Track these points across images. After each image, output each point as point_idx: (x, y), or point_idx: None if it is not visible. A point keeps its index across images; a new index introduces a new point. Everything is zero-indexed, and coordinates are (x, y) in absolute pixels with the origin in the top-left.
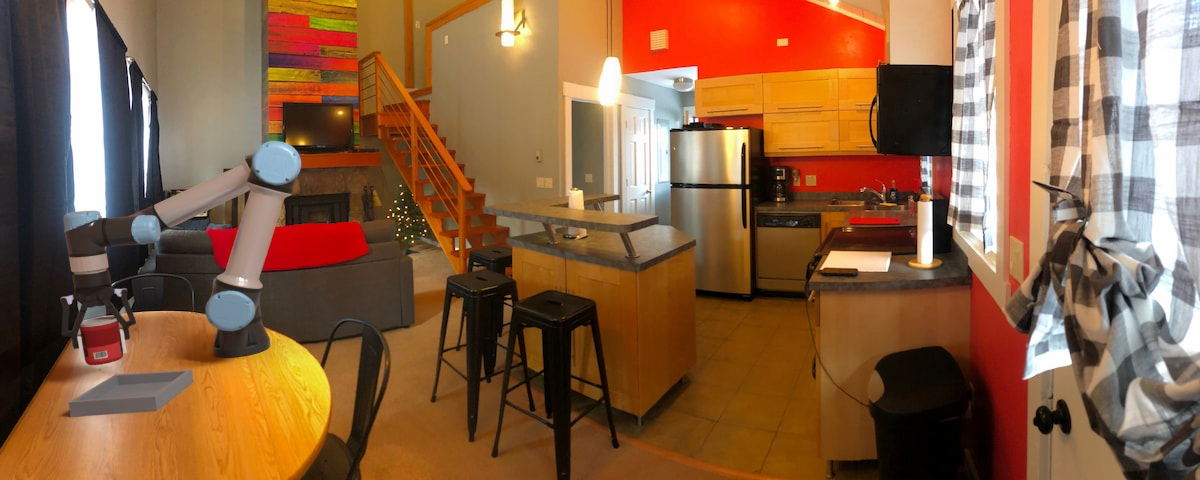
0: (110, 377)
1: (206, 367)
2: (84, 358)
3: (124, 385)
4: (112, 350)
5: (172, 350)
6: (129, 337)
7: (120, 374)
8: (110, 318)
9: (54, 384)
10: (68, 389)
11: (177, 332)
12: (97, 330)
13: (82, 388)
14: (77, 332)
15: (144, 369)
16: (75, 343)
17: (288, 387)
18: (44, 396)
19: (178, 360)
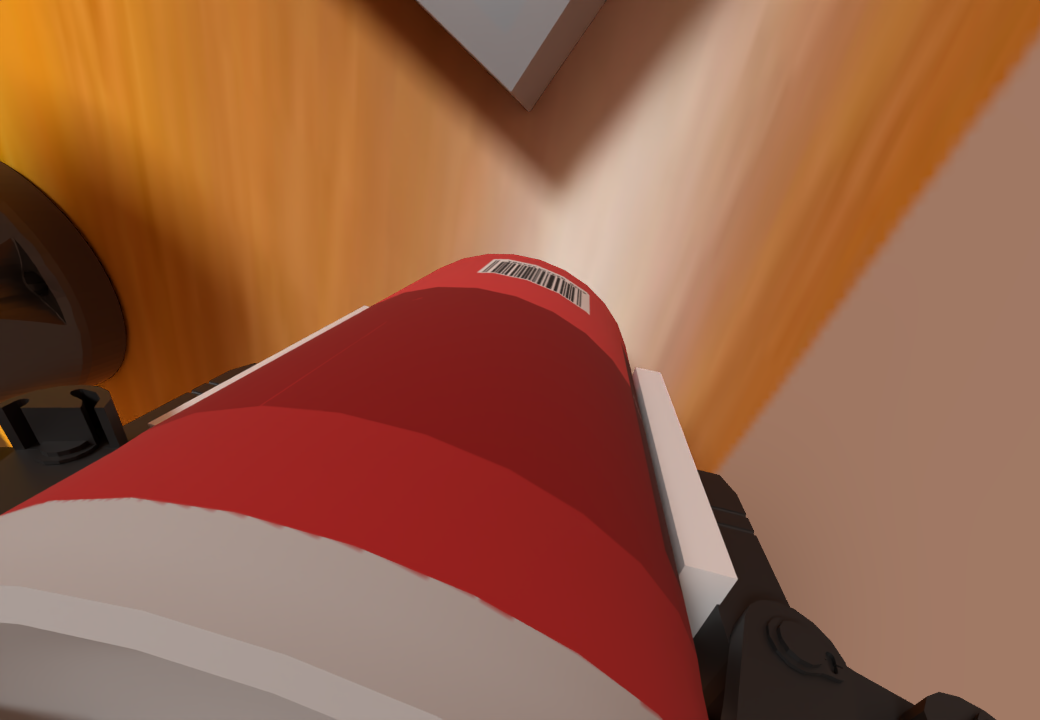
0: (556, 19)
1: (113, 99)
2: (639, 377)
3: (496, 5)
4: (433, 275)
5: None
6: (235, 371)
7: (482, 54)
8: None
9: (712, 460)
10: (708, 326)
11: None
12: (432, 424)
13: (658, 280)
14: (750, 675)
15: None
16: (723, 520)
17: None
18: (838, 305)
19: (253, 355)
